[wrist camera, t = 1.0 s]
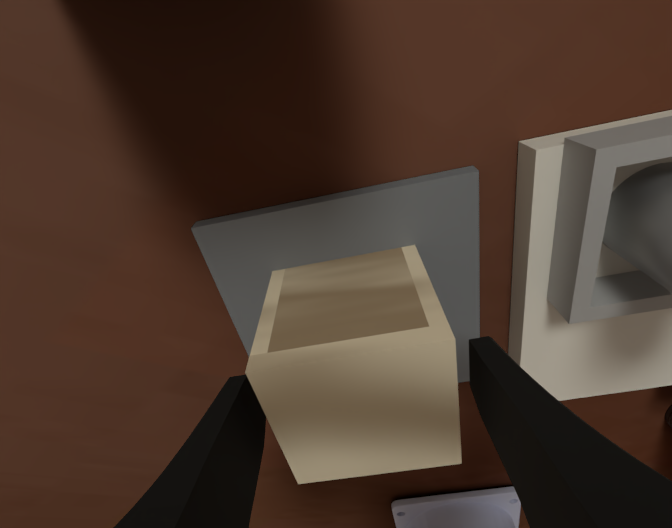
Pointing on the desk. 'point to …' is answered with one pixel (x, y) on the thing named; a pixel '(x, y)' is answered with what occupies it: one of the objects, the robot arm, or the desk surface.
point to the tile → (355, 244)
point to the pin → (669, 416)
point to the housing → (357, 367)
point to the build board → (594, 258)
